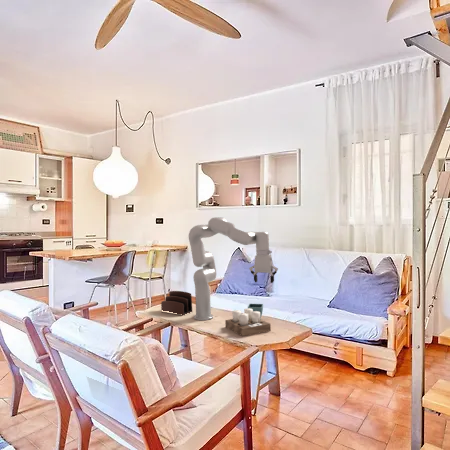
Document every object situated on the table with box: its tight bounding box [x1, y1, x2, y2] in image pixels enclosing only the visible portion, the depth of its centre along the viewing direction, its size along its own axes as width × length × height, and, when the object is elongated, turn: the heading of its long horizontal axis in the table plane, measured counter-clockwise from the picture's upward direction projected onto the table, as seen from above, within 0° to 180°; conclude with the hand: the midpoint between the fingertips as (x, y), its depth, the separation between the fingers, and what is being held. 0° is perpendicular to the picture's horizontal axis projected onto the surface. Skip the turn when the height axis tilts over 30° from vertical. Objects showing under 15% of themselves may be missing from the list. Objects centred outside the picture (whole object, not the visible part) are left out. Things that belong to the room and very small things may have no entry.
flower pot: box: [247, 303, 264, 320], centre depth 217 cm, size 9×9×9 cm
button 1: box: [232, 310, 242, 323], centre depth 202 cm, size 5×5×6 cm
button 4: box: [251, 311, 261, 324], centre depth 198 cm, size 5×5×6 cm
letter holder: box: [160, 290, 193, 316], centre depth 240 cm, size 10×20×14 cm, turn 59°
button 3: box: [243, 307, 253, 321], centre depth 205 cm, size 5×5×6 cm
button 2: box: [239, 312, 249, 327], centre depth 195 cm, size 5×5×6 cm
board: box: [224, 318, 272, 337], centre depth 199 cm, size 20×18×4 cm
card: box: [248, 323, 262, 327], centre depth 192 cm, size 4×7×1 cm, turn 117°
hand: (264, 282), depth 203 cm, fingers open, 9 cm apart
